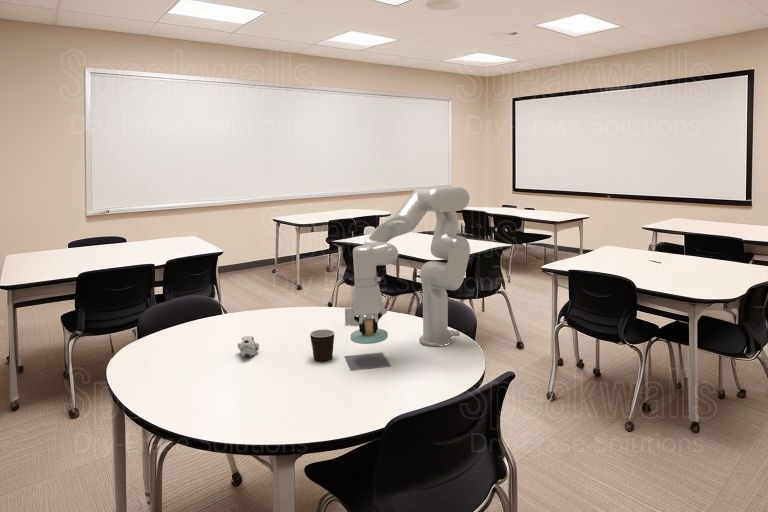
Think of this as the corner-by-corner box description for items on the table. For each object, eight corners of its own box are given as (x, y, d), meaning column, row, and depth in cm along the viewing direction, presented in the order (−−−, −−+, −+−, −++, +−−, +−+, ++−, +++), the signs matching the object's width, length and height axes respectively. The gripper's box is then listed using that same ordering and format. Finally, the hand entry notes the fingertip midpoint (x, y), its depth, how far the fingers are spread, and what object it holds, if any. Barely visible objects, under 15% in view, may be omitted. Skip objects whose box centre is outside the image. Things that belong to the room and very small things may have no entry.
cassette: (345, 326, 226) (344, 308, 225) (345, 324, 228) (345, 307, 227) (372, 326, 226) (372, 308, 224) (373, 324, 228) (372, 307, 226)
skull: (261, 341, 200) (258, 327, 190) (258, 363, 195) (256, 350, 185) (240, 341, 199) (236, 327, 189) (237, 363, 194) (233, 350, 184)
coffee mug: (331, 365, 182) (330, 337, 180) (307, 363, 184) (306, 336, 182) (340, 353, 193) (339, 327, 191) (318, 352, 195) (317, 326, 193)
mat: (382, 354, 192) (382, 352, 192) (391, 368, 178) (391, 366, 178) (344, 357, 189) (344, 356, 189) (350, 372, 175) (350, 370, 175)
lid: (383, 328, 190) (382, 311, 189) (391, 341, 178) (390, 322, 177) (347, 333, 188) (346, 316, 186) (353, 346, 175) (352, 327, 174)
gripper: (386, 277, 184) (389, 326, 188) (340, 281, 181) (343, 332, 184) (392, 281, 177) (394, 333, 181) (343, 287, 173) (347, 339, 177)
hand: (368, 332), depth 182 cm, fingers closed on lid, 3 cm apart
